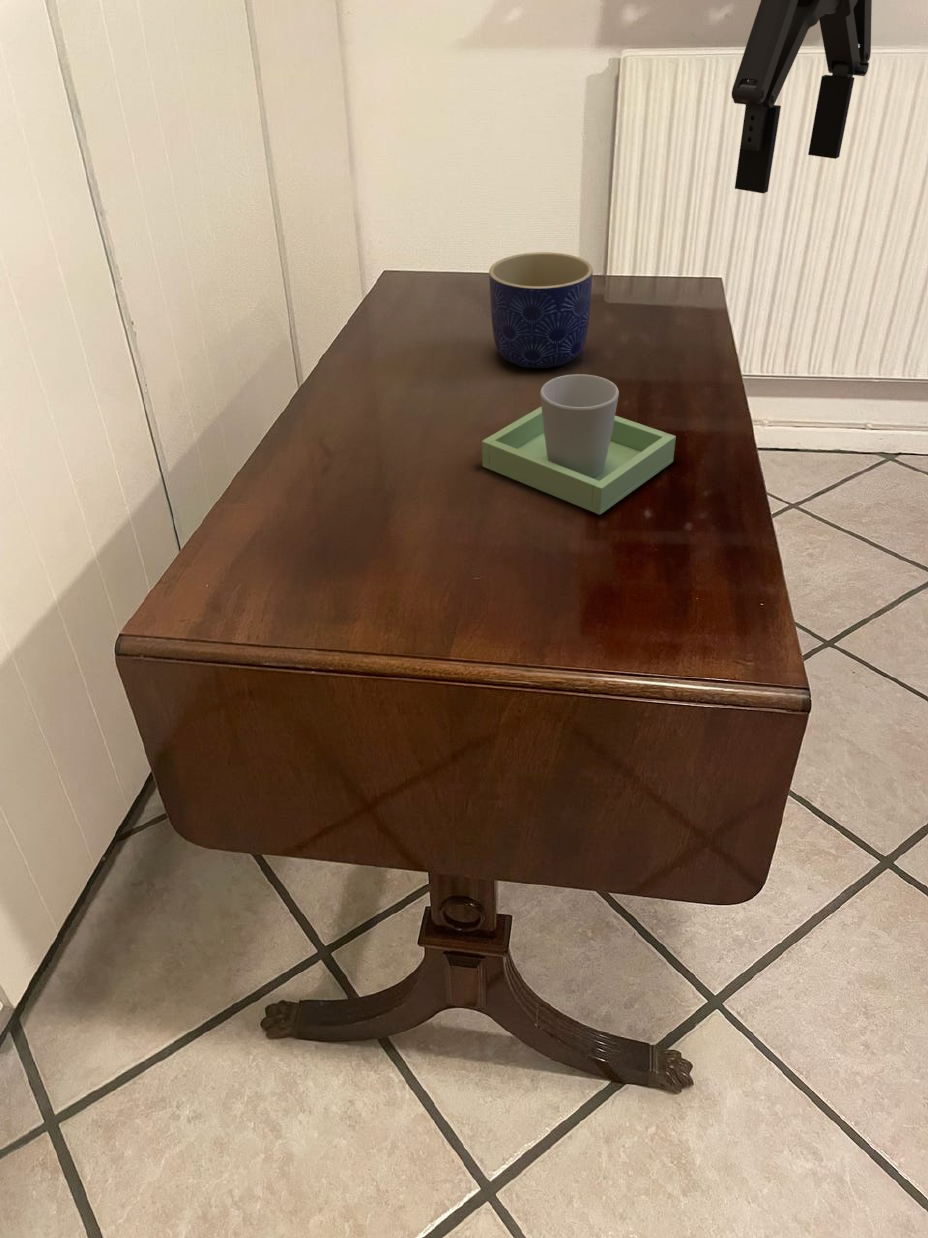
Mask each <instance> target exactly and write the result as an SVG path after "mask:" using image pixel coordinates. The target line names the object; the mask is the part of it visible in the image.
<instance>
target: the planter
mask: <svg viewBox="0 0 928 1238" xmlns="http://www.w3.org/2000/svg"><path fill="white" fill-rule="evenodd" d="M593 268H594V267H593V266H592V265H591V263H590V262H589V261H587V260H585V259H584V258H581V257H579V256H575V255H572V254H567V253H561V252H549V251H548V252H547V251H546V252H545V251H542V252H541V251H540V252H538V251H537V252H526V253H520V254H515V255H509V256H506V257H504V258H502V259H500V260H497V261H496V262H494V263H493V264H492V265H491V266H490V268H489V270H488V279H489V298H490V313H491V315H490V316H491V326H492V335H493V340H494V344H495V348H496V350H497V352H498V353H499V355H500V356H501V357H502V358H503V359H505V361H507V362H508V363H511V364H512V365H515V366H517V367H518V366H519V367H522V368H528V369H549V368H556V367H560V366H564V365H565V364H568V363H570V362H572V361H573V360H574V359H576V358H577V357H578V356H579V355H580V354H581V353H582V351H583V349H584V346H585V344H586V341H587V335H588V328H589V322H590V321H589V320H590V311H591V299H592V285H593V275H594V269H593Z"/></svg>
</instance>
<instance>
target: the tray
mask: <svg viewBox="0 0 928 1238" xmlns="http://www.w3.org/2000/svg"><path fill="white" fill-rule="evenodd" d="M676 438H677V436H676V435H675V434H671V433H667V432H665V431H662V430H659V429H656V428H653V427H650V426H647V425H644V424H641V423H638V422H637V421H633V420H629V419H627V418H624V417H621V416H618V415H615V418H614V424H613V429H612V435H611V439H610V444H609V448H608V453H607V457H606V462H605V466H604V470H603V471H602V473H600V474H599V475H597V476H595V477H593V478H590V477H588V476H585V475H583V474H580V473H578V472H575V471H572V470H570V469H567V468H565V467H562V466H560V465H557V464H555V463H552V462H549V461H548V457H547V450H546V443H545V435H544V427H543V417H542V406H541V405H540V406H539V407H537V408H536V409H533V411H531V412H529V413H527V414H525V415H524V416H522V417H519V418H518V419H517V420H515V421H513V422H511V423H510V424H507V426H505V427H503V428H502V429H500V430H498V431H497V432H495V433H493V434H491V435H490V436H488V437H486V438H484V439H483V440H481V460H482V467H483V468H485V469H488V470H490V471H492V472H495V473H498V474H500V475H502V476H504V477H507V478H509V479H512V480H514V481H517V482H519V483H522V484H524V485H526V486H529V487H531V488H534V489H536V490H538V491H541V492H542V493H546V494H549V495H551V496H553V497H556V498H558V499H560V500H563V501H565V502H567V503H570V504H572V505H575V506H578V507H580V508H581V509H585V510H586V511H589V512H592V513H594V514H596V515H602V514H603V513H605V512H606V511H607V510H609V509H610V508H611V507H613V506H615V505H616V504H617V503H618V502H620V501H621V500H623V499H624V498H625V497H627V496H628V495H629V494H631V493H632V492H634V491H635V490H636V489H638V488H639V487H640V486H642V485H643V484H645V483H647V482H648V481H649V480H651V478H653V477H654V476H656V475H657V474H658V473H660V472H661V471H662V470H664V469H666V468H667V467H668V466H669V465H671V464H672V463H673V462H674V460H675V459H674V456H675V449H676V440H677V439H676Z"/></svg>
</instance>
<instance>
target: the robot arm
mask: <svg viewBox="0 0 928 1238" xmlns="http://www.w3.org/2000/svg"><path fill="white" fill-rule="evenodd" d="M872 4H873V0H760V1H759V5H758V8H757V10H756V11H757V12H756V15H755V18H754V21H753V24H752V26H751V30H750V33H749V37H748V40H747V43H746V46H745V49H744V52H743V55H742V58H741V60H740V63H739V67H738V70H737V74H736V76H735V79H734V83H733V86H732V89H731V98H732V100H733V103H734V104H738V105H745V106H744V107H745V108H744V116H743V123H742V129H741V130H742V131H741V137H740V138H741V139H740V145H739V153H738V161H737V167H736V175H735V181H734V182H735V183H734V190H740V191H746V192H753V193H758V194H763V195H764V194H765V193H768V191H769V188H770V187H769V186H770V179H771V173H772V167H773V159H774V153H775V147H776V141H777V135H778V127H779V121H780V115H781V109H782V105H777V104H776V102H777V100H778V97H779V95H780V93H781V91H782V89H783V86H784V84H785V83H786V80H787V78H788V76H789V73H790V72H791V69H792V67H793V65H794V63H795V60H796V58H797V56H798V54H799V51H800V49H801V47H802V45H803V43H804V40H805V38H806V36H807V34H808V31H809V30H810V29H811V28H812V27H814V26H816V25H817V24H818V22H819V28H820V32H821V38H822V45H823V49H824V50H823V51H824V54H825V60H826V66H827V71H828V73H829V74H824V75H822V76H821V80H820V84H819V89H818V96H817V101H816V108H815V113H814V117H813V118H814V119H813V123H812V124H813V125H812V130H811V136H810V141H809V148H808V153H807V156H813V157H819V158H825V159H826V158H827V159H833V160H835V159H838V158H840V154H841V150H842V145H843V139H844V134H845V131H846V130H845V129H846V125H847V119H848V114H849V108H850V105H851V104H850V103H851V99H852V98H851V97H852V92H853V88H854V83H855V77H854V76H856V77H865V76H866V75H867V73H868V70H869V67H870V62H869V61H870V59H871V53H872V7H873V6H872Z"/></svg>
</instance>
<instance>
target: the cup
mask: <svg viewBox="0 0 928 1238" xmlns="http://www.w3.org/2000/svg"><path fill="white" fill-rule="evenodd" d="M539 394H540V404H541V405H540V407H541V406H542V417H543V427H544V435H545V443H546V450H547V457H548V461H549V462H552V463H555V464H557V465H560V466H562V467H565V468H567V469H570V470H572V471H575V472H578V473H580V474H583V475H585V476H588V477H590V478H593V477H595V476H597V475H599V474H600V473H602V471H603V470H604V466H605V462H606V457H607V453H608V448H609V444H610V439H611V435H612V429H613V424H614V418H615V416H616V412H617V407H618V401H619V394H620V392H619V389H618V387H617V385H616V384H615V383H614V382H612V381H611V380H609V379H608V378H605V377H601V376H599V375H593V374H580V373H576V374H575V373H574V374H566V375H565V374H564V375H561V376H557V377H554V378H551V379H550V380H548V381H546V382H545V383H544V384H543V385H542V386H541V389H540V393H539Z"/></svg>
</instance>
